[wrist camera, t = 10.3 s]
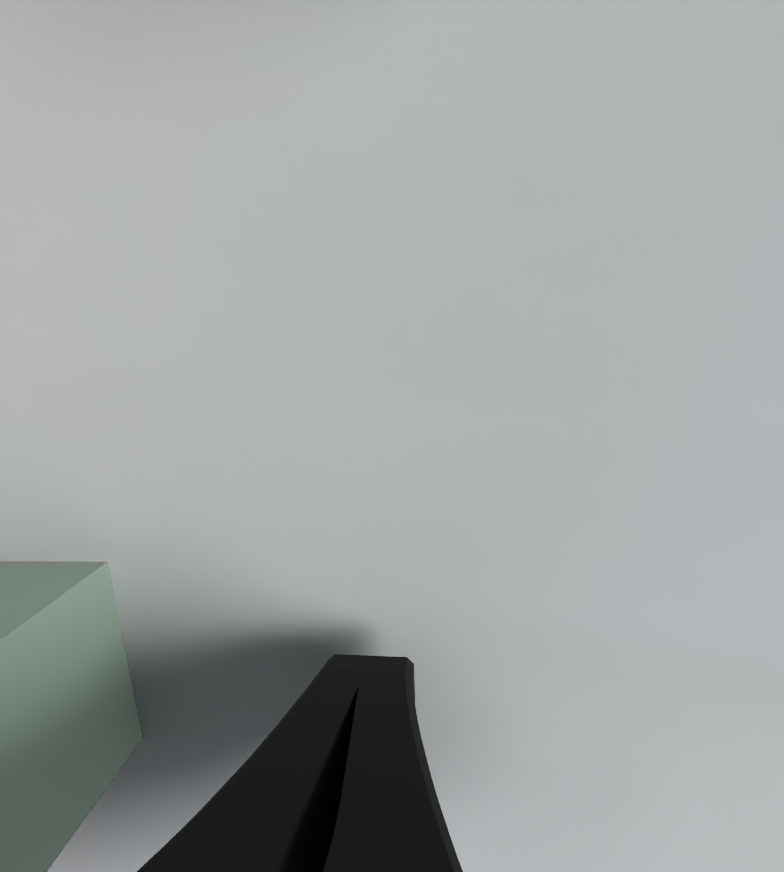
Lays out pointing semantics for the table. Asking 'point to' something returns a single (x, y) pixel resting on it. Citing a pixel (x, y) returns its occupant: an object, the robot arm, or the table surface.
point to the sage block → (58, 705)
